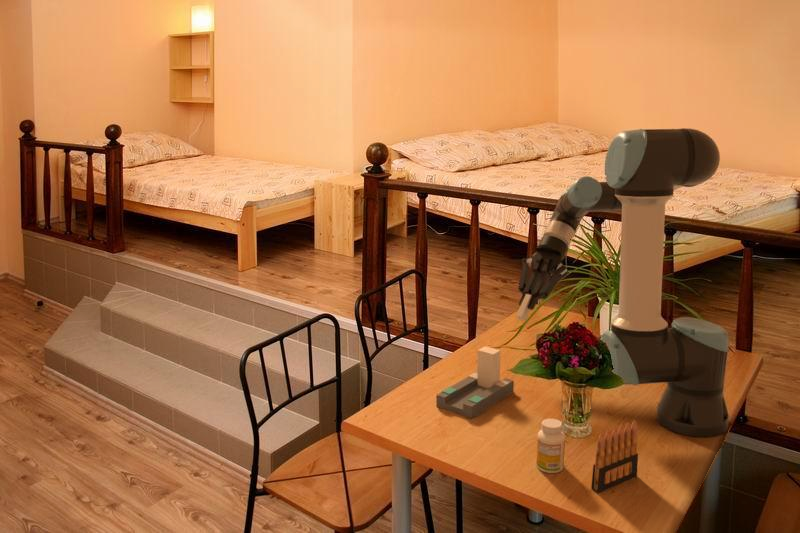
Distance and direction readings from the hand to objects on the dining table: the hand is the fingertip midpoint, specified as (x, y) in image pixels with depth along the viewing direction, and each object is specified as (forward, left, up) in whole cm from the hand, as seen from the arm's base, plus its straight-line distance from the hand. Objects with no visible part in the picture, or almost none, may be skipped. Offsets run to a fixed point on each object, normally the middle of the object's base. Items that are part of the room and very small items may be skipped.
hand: (520, 318), depth 195 cm
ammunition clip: (-54, -1, -15) cm, 56 cm away
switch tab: (-9, +11, -13) cm, 20 cm away
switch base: (-13, +15, -15) cm, 25 cm away
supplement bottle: (-46, +9, -15) cm, 49 cm away
